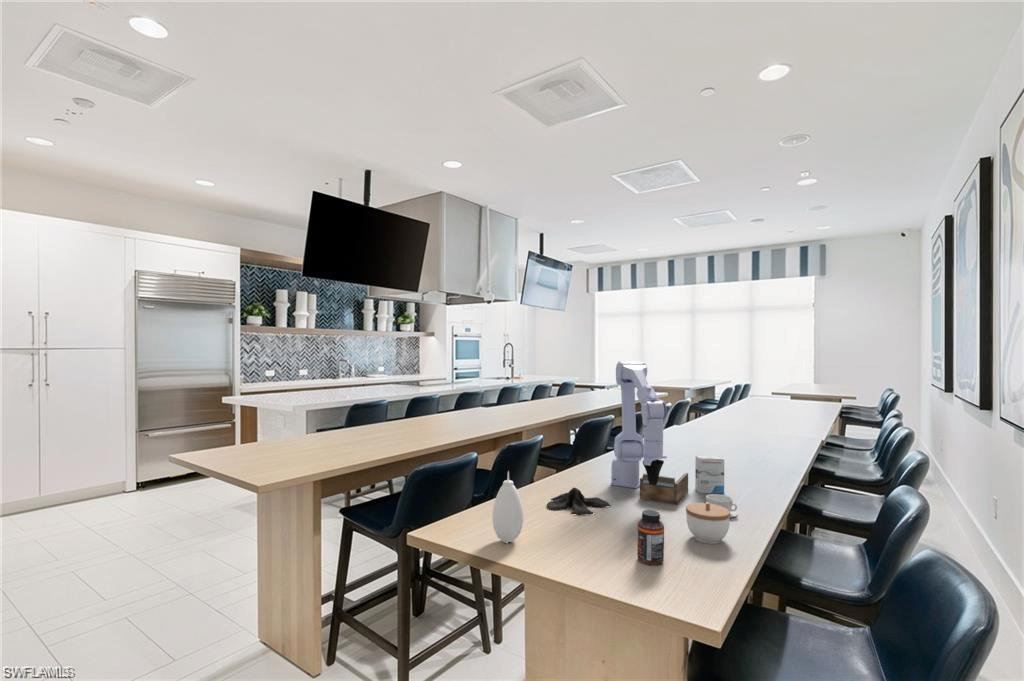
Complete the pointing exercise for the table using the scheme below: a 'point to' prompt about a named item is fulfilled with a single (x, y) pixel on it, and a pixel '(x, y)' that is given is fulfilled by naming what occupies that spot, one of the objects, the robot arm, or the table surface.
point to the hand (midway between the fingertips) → (653, 484)
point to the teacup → (722, 502)
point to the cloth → (576, 502)
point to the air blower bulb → (507, 512)
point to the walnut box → (665, 491)
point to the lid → (665, 478)
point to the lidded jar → (707, 521)
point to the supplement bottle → (650, 538)
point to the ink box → (709, 474)
